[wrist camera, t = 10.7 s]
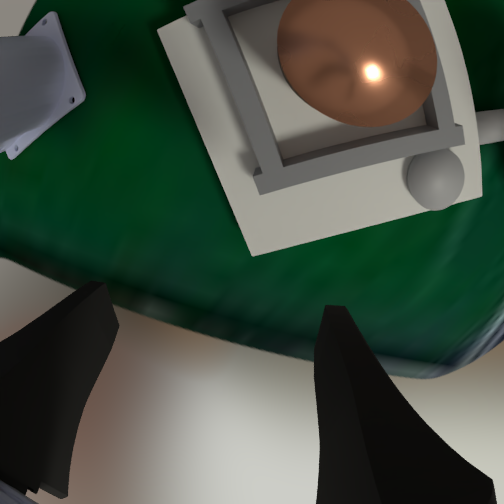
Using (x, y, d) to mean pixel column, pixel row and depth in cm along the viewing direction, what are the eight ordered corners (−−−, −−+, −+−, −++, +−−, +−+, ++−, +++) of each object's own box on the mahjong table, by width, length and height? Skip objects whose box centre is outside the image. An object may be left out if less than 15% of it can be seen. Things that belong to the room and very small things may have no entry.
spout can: (302, 123, 14) (313, 149, 9) (250, 8, 11) (228, -34, 6) (396, 96, 12) (455, 110, 7) (347, -19, 9) (381, -67, 4)
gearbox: (255, 239, 20) (249, 271, 17) (170, 34, 13) (144, 26, 10) (507, 174, 15) (536, 194, 12) (465, -21, 8) (494, -31, 5)
